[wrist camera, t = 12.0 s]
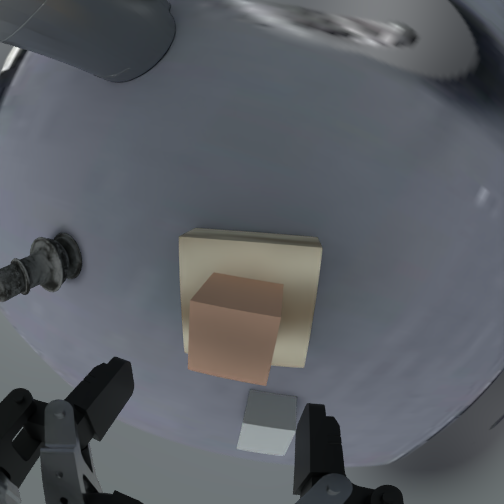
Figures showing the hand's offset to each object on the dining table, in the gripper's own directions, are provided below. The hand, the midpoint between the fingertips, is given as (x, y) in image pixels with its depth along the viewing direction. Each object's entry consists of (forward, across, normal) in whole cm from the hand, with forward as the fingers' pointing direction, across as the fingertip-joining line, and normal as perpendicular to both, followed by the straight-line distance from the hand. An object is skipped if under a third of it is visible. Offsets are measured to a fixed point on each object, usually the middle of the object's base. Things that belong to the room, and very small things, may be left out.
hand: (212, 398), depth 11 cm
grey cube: (+13, -4, +14) cm, 20 cm away
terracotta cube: (+10, 0, 0) cm, 10 cm away
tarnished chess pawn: (+14, +21, +1) cm, 25 cm away
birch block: (+14, 0, 0) cm, 14 cm away
